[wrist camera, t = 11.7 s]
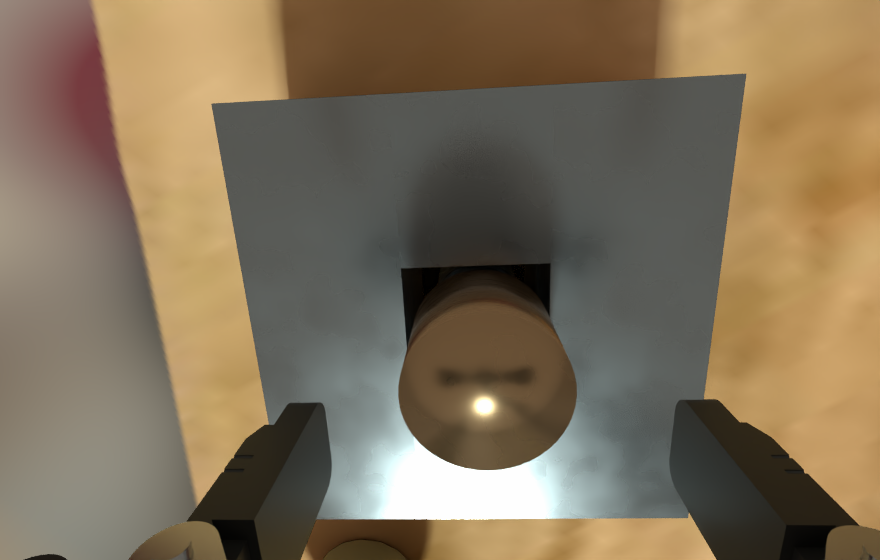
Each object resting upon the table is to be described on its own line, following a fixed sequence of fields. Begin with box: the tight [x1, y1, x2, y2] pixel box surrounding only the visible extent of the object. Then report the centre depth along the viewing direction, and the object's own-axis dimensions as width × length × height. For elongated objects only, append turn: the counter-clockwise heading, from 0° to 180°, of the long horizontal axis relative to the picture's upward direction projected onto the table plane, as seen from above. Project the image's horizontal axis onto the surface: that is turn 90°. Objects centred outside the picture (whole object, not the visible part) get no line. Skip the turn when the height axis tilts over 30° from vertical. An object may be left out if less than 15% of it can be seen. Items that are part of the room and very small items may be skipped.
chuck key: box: [398, 265, 577, 471], centre depth 18 cm, size 5×5×11 cm
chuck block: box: [212, 74, 746, 519], centre depth 20 cm, size 16×16×7 cm
